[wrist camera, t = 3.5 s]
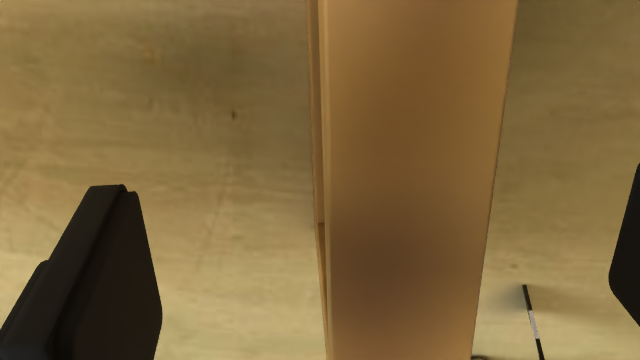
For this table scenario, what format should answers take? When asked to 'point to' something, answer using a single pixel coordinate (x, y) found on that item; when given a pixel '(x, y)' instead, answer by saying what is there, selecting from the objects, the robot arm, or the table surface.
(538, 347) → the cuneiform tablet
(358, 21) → the frame
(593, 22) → the table surface
